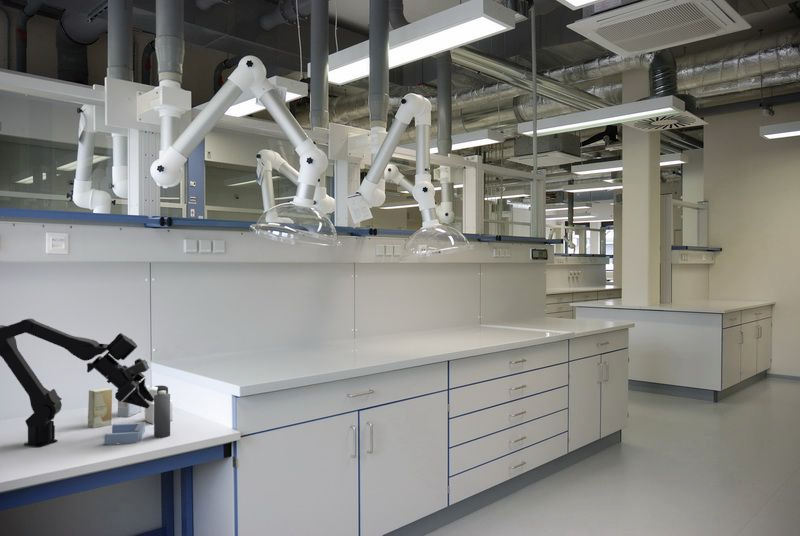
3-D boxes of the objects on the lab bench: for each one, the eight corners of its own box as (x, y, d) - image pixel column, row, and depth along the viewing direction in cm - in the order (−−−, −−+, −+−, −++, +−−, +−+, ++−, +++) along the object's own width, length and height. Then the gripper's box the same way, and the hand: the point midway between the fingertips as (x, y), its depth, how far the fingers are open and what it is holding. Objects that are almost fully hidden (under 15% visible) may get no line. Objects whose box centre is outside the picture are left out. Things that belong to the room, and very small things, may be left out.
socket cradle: (104, 444, 179) (104, 434, 179) (113, 433, 191) (113, 423, 191) (138, 442, 182) (138, 431, 182) (144, 431, 194) (144, 421, 194)
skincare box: (93, 428, 197) (93, 391, 197) (87, 426, 200) (87, 390, 200) (112, 424, 202) (112, 388, 202) (106, 422, 205) (106, 387, 205)
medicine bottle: (164, 416, 212) (164, 383, 212) (173, 420, 207) (173, 386, 207) (144, 420, 207) (144, 386, 207) (152, 424, 202) (152, 389, 202)
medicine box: (130, 411, 220) (130, 388, 220) (141, 412, 219) (141, 388, 219) (117, 417, 212) (117, 392, 212) (128, 417, 212) (128, 393, 211)
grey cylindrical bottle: (162, 438, 186) (162, 393, 186) (150, 436, 188) (150, 392, 188) (173, 434, 191) (173, 390, 191) (161, 432, 192) (161, 389, 192)
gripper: (126, 356, 178) (166, 390, 181) (137, 347, 196) (173, 379, 199) (98, 384, 176) (138, 418, 179) (111, 372, 194) (148, 404, 197)
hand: (150, 403), depth 188 cm, fingers open, 9 cm apart
